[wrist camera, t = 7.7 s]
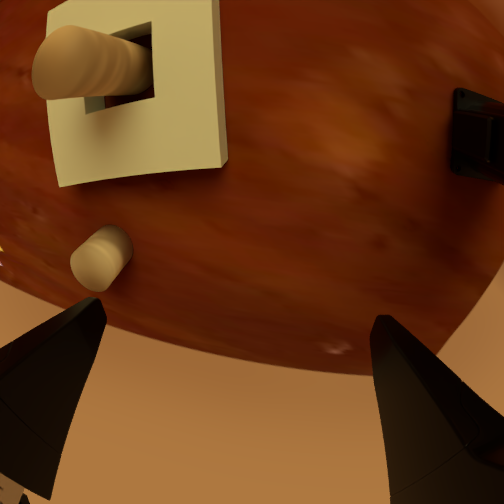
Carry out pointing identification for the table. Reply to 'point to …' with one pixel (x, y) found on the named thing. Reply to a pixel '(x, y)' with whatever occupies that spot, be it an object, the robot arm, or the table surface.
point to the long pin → (90, 65)
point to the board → (149, 110)
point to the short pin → (101, 258)
